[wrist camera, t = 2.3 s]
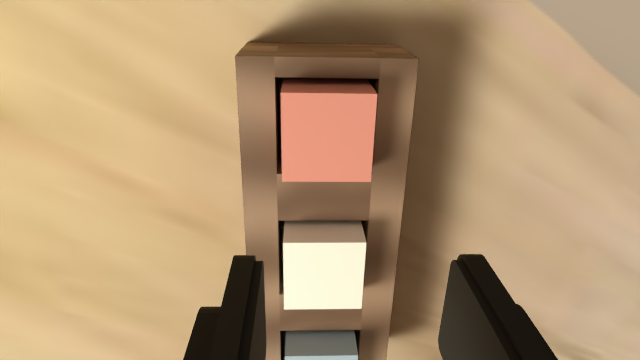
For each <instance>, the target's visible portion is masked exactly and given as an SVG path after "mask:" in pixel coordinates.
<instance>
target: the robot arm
mask: <svg viewBox="0 0 640 360" xmlns="http://www.w3.org/2000/svg"><path fill="white" fill-rule="evenodd" d="M438 343H439V350H440V353H441V356H442V358H443V360H558V359H557V358H556V356H555V355H554V353H553V352H552V350H551V349H550V347H549V346H548V344H547V343H546V341H545V340H544V338H543V337H542V336H541V334H540V333H539V331H538V330H537V328H536V327H535V325H534V324H533V322H532V321H531V319H530V318H529V316H528V315H527V313H526V312H525V311H524V309H523V308H522V307H521V306H520V305H518V304H515V302H514V301H513V299H512V298H511V296H510V295H509V293H508V292H507V290H506V289H505V287H504V286H503V284H502V283H501V281H500V280H499V278H498V277H497V275H496V274H495V272H494V271H493V269H492V268H491V266H490V265H489V263H488V262H487V260H486V259H485V257H484V256H483V255H481V254H461V255H459V257H458V259H457V260H453V261H452V262H451V266H450V272H449V277H448V283H447V289H446V295H445V301H444V307H443V313H442V319H441V325H440V331H439V337H438ZM183 360H266V313H265V286H264V263H263V261H256V256H255V255H235V256H234V257H233V261H232V265H231V269H230V273H229V277H228V281H227V285H226V289H225V293H224V297H223V301H222V305H221V307H201V308H200V309H199V312H198V314H197V317H196V321H195V324H194V327H193V330H192V333H191V337H190V340H189V343H188V346H187V349H186V353H185V356H184V359H183Z"/></svg>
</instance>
